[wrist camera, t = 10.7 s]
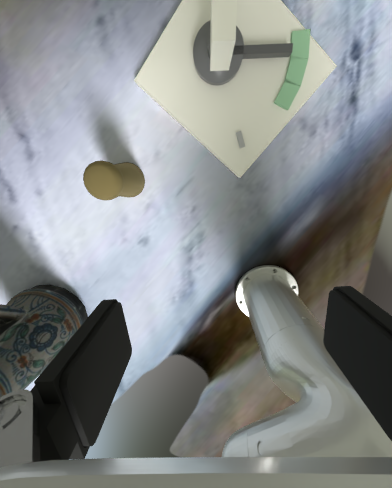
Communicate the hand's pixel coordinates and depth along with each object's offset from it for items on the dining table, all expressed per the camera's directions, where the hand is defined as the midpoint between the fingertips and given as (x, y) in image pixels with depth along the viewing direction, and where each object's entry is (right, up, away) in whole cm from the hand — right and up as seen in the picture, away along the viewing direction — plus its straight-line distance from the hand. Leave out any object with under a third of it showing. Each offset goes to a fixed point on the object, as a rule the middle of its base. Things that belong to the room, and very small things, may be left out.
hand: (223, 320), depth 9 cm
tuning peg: (+5, +31, +20) cm, 37 cm away
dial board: (+4, +29, +22) cm, 37 cm away
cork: (-13, +15, +28) cm, 34 cm away
